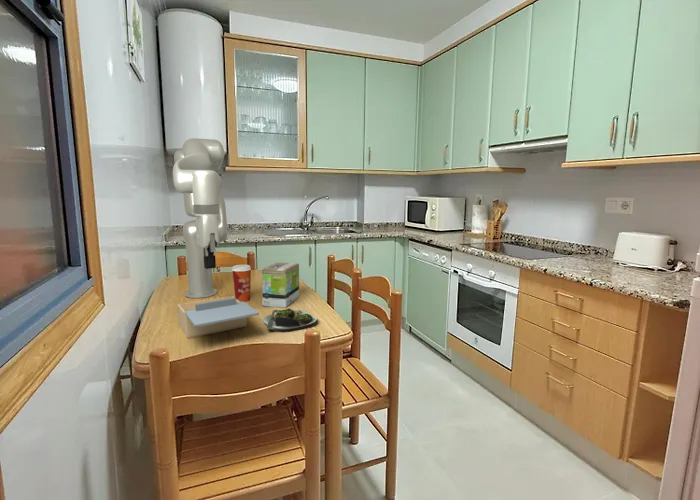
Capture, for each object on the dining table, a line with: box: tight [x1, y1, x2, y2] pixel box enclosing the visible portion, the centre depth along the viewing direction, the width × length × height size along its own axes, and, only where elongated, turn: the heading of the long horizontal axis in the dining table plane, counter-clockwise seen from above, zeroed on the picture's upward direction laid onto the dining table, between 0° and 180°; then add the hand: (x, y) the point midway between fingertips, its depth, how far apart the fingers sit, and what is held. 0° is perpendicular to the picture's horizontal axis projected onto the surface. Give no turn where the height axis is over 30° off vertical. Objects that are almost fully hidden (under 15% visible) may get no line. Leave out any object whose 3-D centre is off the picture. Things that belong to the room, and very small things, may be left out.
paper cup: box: [231, 264, 252, 303], centre depth 150 cm, size 8×8×14 cm
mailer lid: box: [184, 298, 260, 327], centre depth 111 cm, size 14×18×3 cm
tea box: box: [261, 262, 300, 309], centre depth 148 cm, size 15×10×15 cm
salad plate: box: [262, 307, 318, 333], centre depth 126 cm, size 19×18×5 cm
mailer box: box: [176, 295, 248, 339], centre depth 122 cm, size 14×18×7 cm
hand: (210, 267), depth 119 cm, fingers closed
